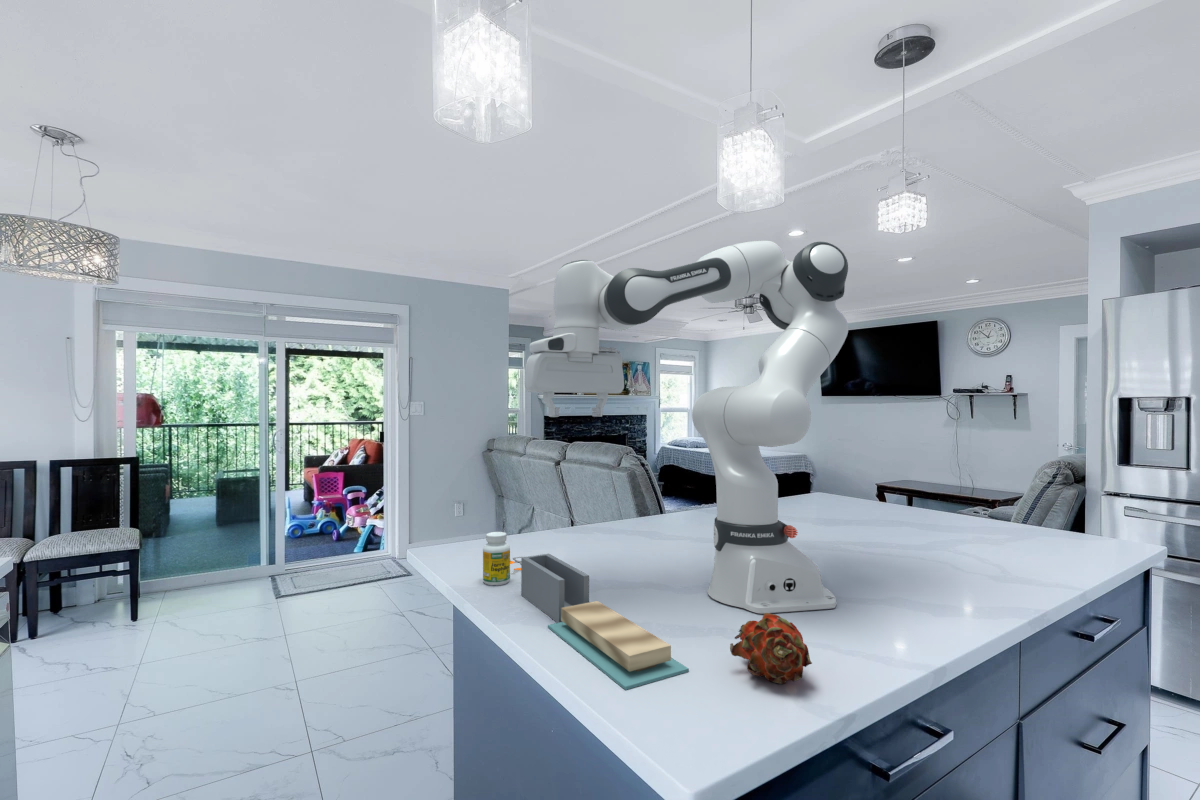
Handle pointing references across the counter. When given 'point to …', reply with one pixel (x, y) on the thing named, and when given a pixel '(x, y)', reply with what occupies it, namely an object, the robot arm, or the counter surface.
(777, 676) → the dragon fruit
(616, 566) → the counter surface
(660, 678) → the teal mat
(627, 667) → the oak lid
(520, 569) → the key chain
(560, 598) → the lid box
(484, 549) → the supplement bottle
